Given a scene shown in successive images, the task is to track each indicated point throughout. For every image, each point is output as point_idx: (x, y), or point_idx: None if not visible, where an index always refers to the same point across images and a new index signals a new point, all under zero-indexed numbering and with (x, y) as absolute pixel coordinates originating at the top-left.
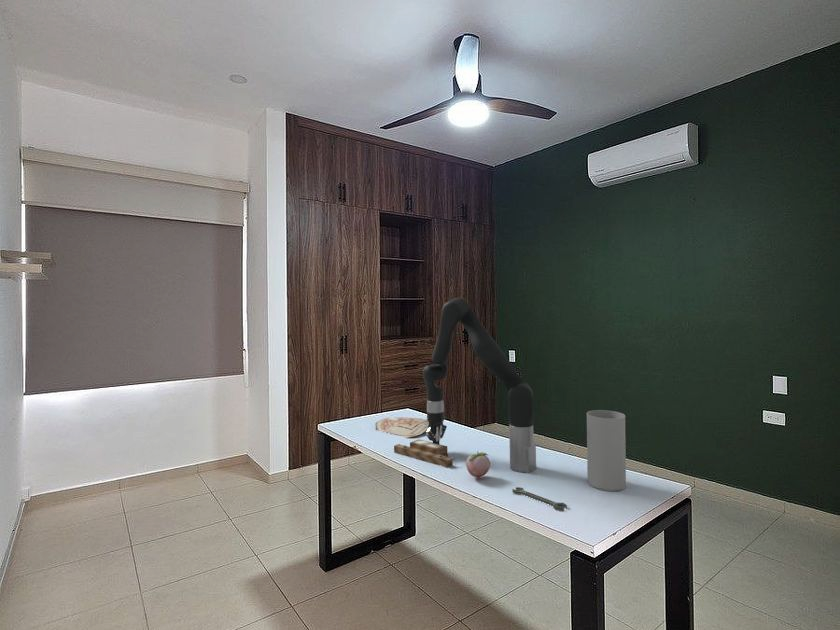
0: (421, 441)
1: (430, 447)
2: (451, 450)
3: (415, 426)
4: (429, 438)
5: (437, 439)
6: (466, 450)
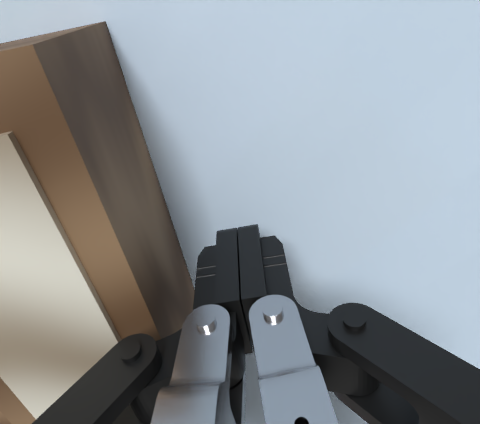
0: (7, 227)
1: None
2: (393, 268)
3: None
4: (94, 391)
5: (236, 389)
6: (471, 333)
